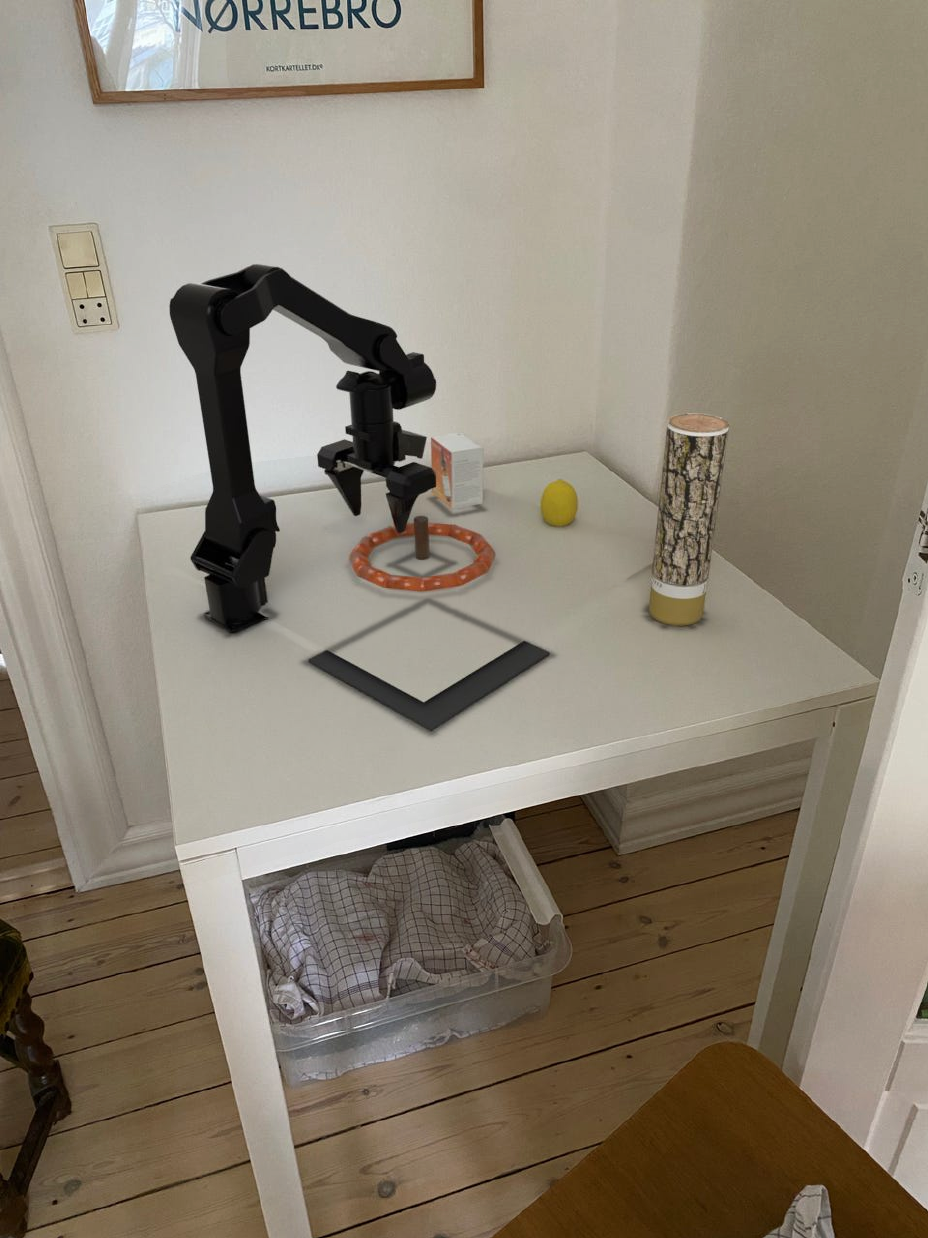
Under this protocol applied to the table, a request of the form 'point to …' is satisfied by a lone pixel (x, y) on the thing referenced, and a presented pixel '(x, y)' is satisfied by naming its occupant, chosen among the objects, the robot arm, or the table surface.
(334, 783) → the table surface
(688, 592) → the paper tube
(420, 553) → the brown cylinder
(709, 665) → the table surface
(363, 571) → the ring
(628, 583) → the table surface
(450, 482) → the small box
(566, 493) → the lemon
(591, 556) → the table surface
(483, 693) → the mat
